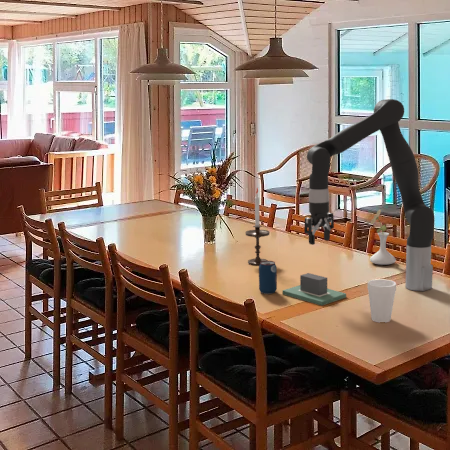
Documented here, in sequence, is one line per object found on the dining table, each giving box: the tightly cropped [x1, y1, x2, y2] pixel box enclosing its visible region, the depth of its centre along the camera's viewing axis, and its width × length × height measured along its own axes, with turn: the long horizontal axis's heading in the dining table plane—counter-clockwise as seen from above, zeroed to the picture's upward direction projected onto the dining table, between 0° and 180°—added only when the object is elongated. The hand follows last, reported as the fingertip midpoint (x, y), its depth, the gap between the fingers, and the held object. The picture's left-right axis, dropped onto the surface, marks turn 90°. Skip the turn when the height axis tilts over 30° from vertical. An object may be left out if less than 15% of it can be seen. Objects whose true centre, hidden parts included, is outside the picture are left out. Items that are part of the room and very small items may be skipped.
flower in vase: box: [369, 209, 397, 266], centre depth 300 cm, size 13×11×25 cm
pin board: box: [282, 285, 347, 307], centre depth 259 cm, size 20×14×6 cm
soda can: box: [258, 260, 278, 295], centre depth 265 cm, size 7×7×12 cm
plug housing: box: [299, 272, 328, 296], centre depth 259 cm, size 10×5×6 cm, turn 41°
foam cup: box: [367, 278, 397, 323], centre depth 230 cm, size 10×9×13 cm
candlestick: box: [245, 187, 270, 266], centre depth 306 cm, size 11×11×35 cm
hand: (319, 242), depth 257 cm, fingers open, 8 cm apart
